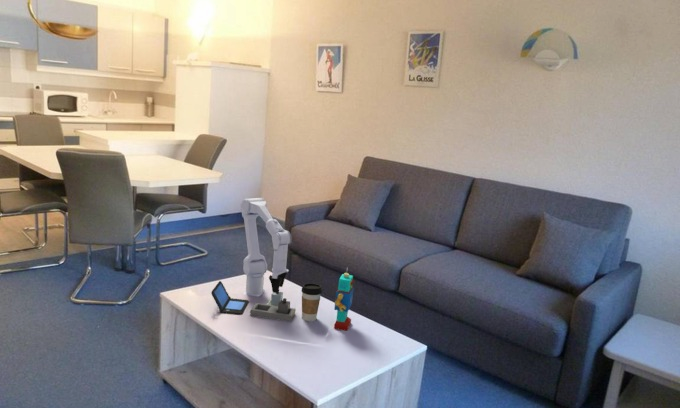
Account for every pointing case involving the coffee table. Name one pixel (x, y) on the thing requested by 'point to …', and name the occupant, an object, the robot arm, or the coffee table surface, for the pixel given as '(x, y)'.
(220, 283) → the handheld game console
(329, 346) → the coffee table surface
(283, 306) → the twin plug
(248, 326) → the coffee table surface
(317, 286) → the coffee cup
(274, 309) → the power strip
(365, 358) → the coffee table surface
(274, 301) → the plug
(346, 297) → the toy robot
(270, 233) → the robot arm
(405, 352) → the coffee table surface
